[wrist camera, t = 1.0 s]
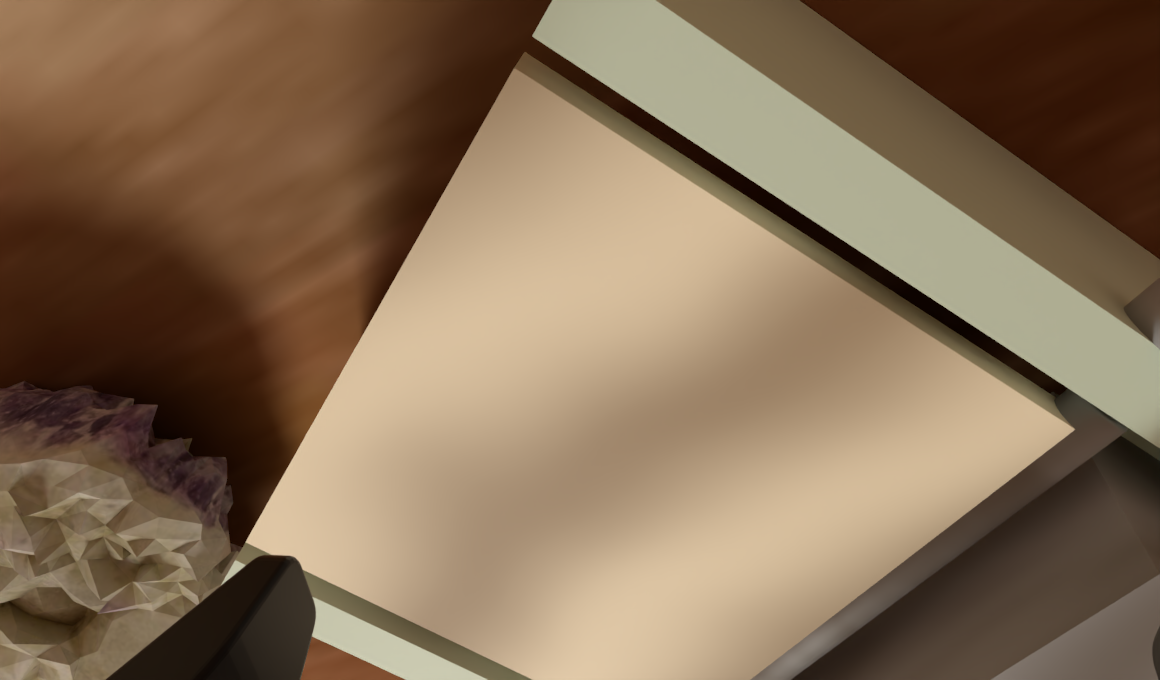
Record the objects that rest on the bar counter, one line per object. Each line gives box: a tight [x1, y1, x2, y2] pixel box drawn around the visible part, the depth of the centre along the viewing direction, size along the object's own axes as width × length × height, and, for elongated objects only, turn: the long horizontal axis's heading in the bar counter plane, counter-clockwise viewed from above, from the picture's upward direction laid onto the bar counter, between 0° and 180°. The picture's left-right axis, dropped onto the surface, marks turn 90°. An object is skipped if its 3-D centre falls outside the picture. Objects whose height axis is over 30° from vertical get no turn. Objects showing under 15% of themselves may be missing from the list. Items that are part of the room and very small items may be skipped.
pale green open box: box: [221, 0, 1160, 680], centre depth 19 cm, size 18×16×9 cm
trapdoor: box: [246, 52, 1160, 680], centre depth 16 cm, size 16×12×4 cm
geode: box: [0, 381, 243, 680], centre depth 27 cm, size 17×9×15 cm
